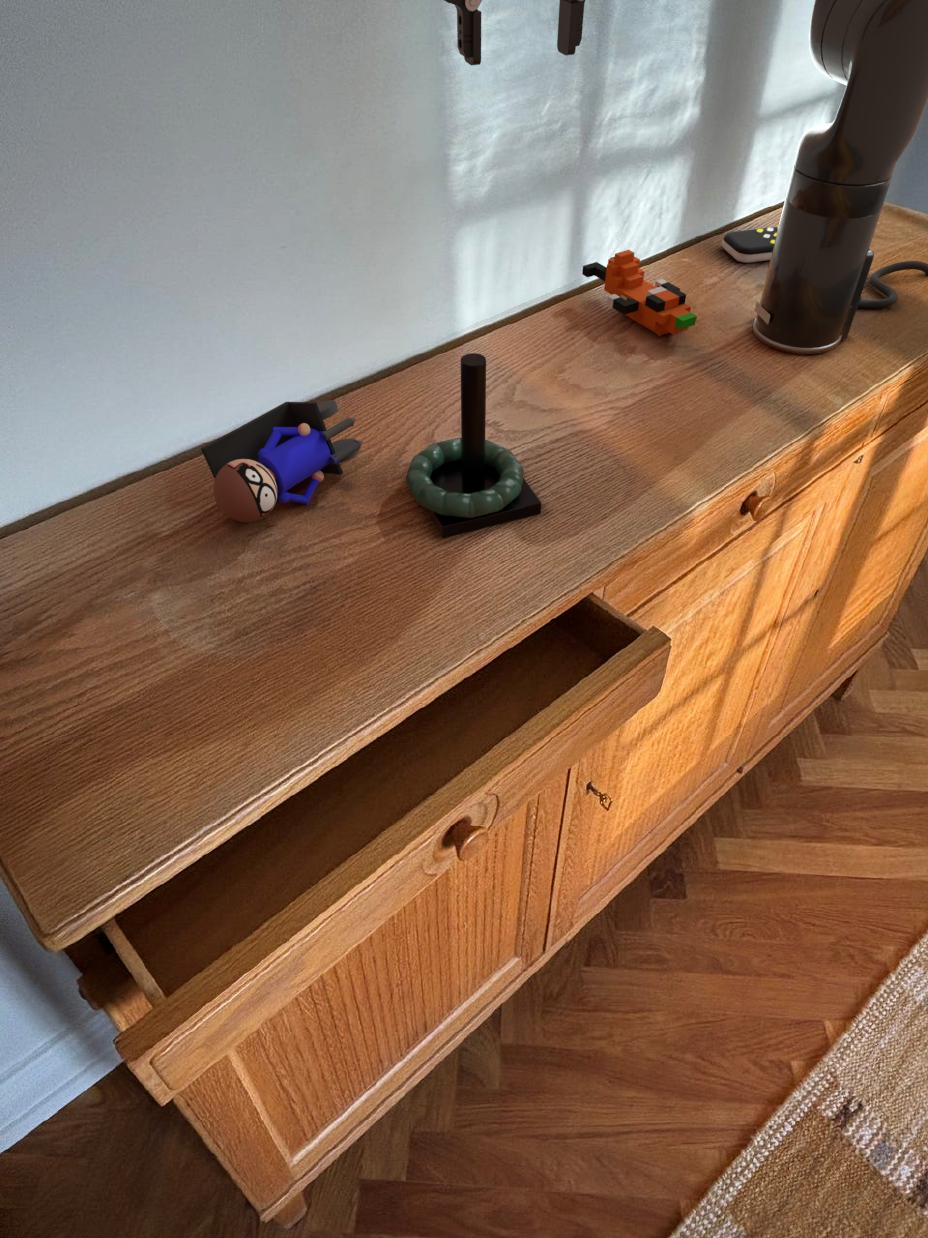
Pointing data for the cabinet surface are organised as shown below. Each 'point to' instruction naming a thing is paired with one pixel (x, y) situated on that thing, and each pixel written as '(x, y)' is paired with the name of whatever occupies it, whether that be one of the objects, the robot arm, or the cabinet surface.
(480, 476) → the post
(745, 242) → the remote control
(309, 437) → the character figurine
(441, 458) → the ring
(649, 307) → the toy
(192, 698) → the cabinet surface
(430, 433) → the cabinet surface
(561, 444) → the cabinet surface
